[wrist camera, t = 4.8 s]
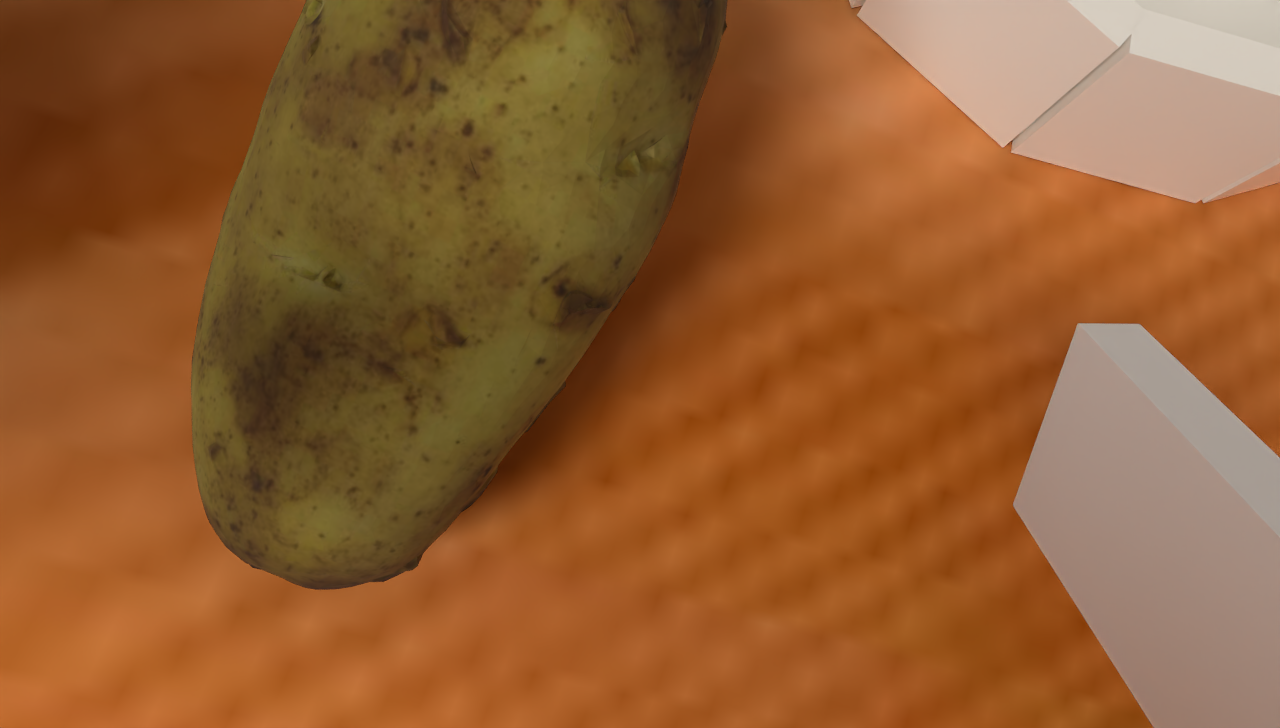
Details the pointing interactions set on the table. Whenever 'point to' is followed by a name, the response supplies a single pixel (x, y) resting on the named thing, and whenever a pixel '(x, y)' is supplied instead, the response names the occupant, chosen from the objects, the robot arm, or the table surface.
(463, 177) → the potato
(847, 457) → the table surface
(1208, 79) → the bowl
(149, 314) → the table surface
